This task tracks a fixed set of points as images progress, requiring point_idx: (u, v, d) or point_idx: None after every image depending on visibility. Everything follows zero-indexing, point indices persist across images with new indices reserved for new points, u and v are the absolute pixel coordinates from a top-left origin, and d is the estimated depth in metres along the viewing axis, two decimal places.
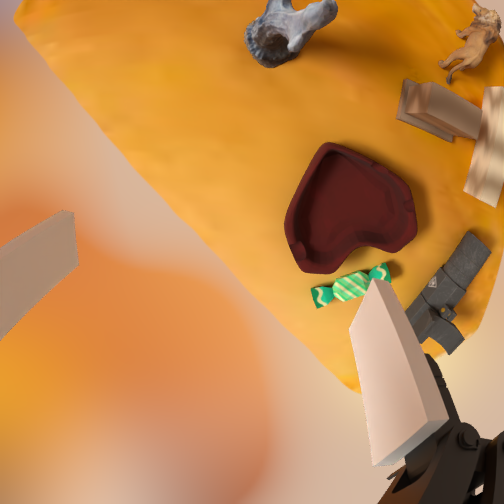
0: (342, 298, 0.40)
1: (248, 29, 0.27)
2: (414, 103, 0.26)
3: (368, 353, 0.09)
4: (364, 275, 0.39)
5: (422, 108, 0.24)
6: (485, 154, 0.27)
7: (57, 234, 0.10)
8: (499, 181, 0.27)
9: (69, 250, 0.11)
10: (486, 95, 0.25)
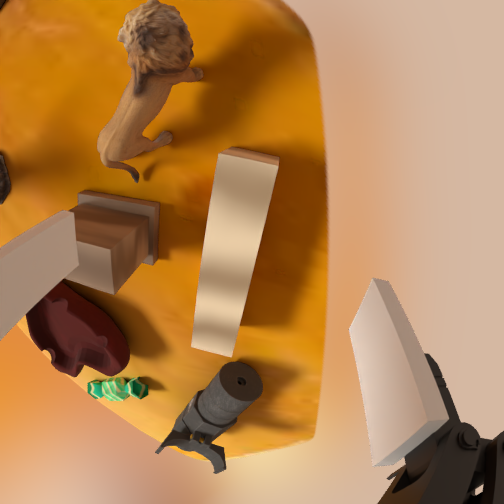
0: None
1: None
2: None
3: (369, 353, 0.09)
4: (119, 385, 0.37)
5: None
6: None
7: (57, 234, 0.10)
8: (229, 326, 0.24)
9: (69, 250, 0.11)
10: None
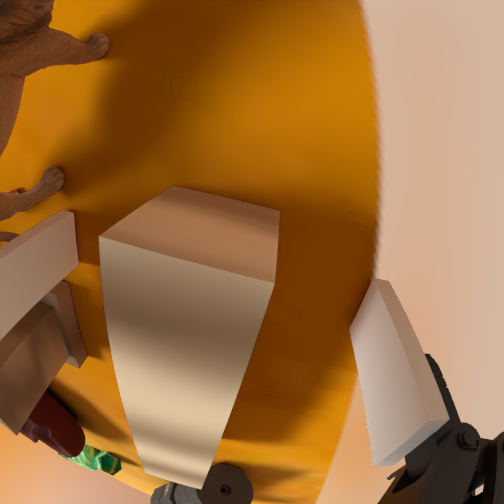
0: (78, 463, 0.25)
1: None
2: None
3: (369, 353, 0.09)
4: (88, 456, 0.25)
5: None
6: None
7: (56, 234, 0.10)
8: (191, 473, 0.12)
9: (69, 250, 0.11)
10: None
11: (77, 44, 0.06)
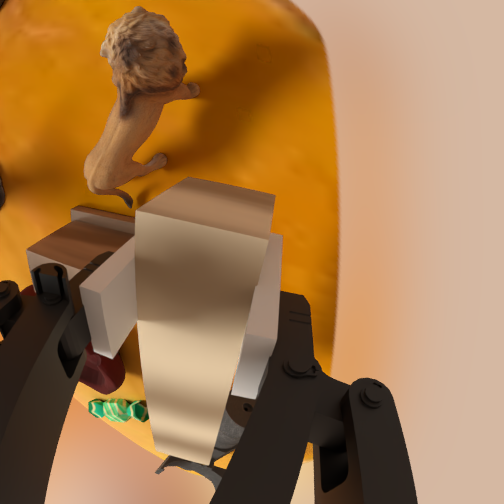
0: (108, 418, 0.35)
1: None
2: None
3: None
4: (121, 407, 0.35)
5: None
6: None
7: None
8: (200, 444, 0.14)
9: None
10: None
11: (188, 90, 0.17)
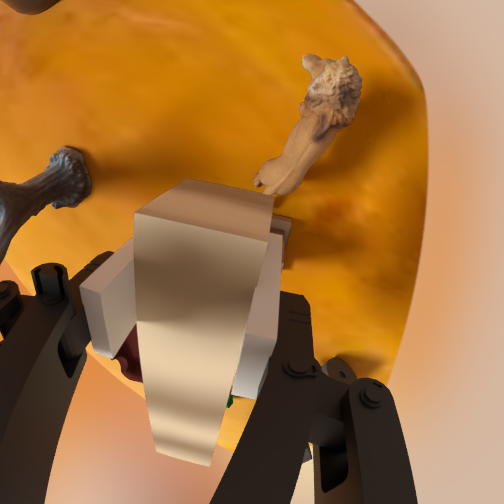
0: None
1: None
2: None
3: None
4: None
5: None
6: None
7: None
8: (200, 446, 0.14)
9: None
10: None
11: None
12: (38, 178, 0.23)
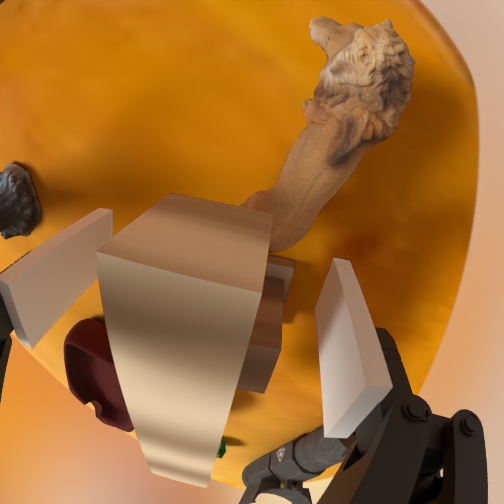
0: None
1: None
2: None
3: (326, 327, 0.10)
4: None
5: None
6: None
7: (97, 231, 0.11)
8: (195, 472, 0.12)
9: None
10: None
11: None
12: None
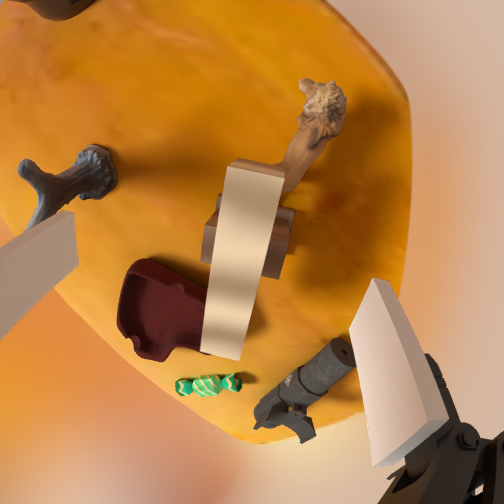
0: (198, 394, 0.46)
1: None
2: None
3: (369, 353, 0.09)
4: (216, 381, 0.46)
5: None
6: None
7: (56, 234, 0.10)
8: (236, 331, 0.25)
9: (69, 250, 0.11)
10: None
11: None
12: (70, 171, 0.28)
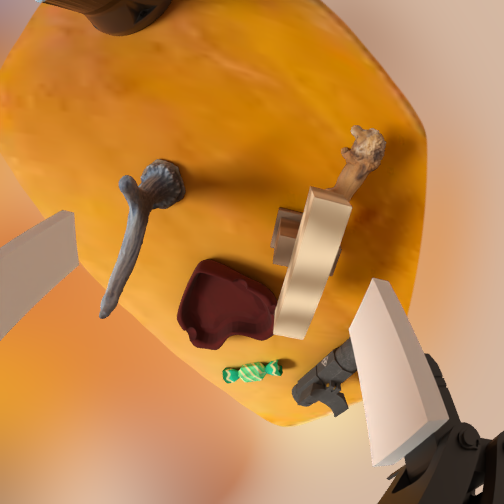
0: (244, 380, 0.54)
1: (141, 179, 0.40)
2: (276, 241, 0.39)
3: (369, 353, 0.09)
4: (261, 368, 0.54)
5: (274, 254, 0.37)
6: (286, 284, 0.33)
7: (56, 234, 0.10)
8: (306, 315, 0.33)
9: (69, 250, 0.11)
10: (307, 201, 0.31)
11: None
12: (148, 184, 0.36)
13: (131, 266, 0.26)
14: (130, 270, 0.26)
